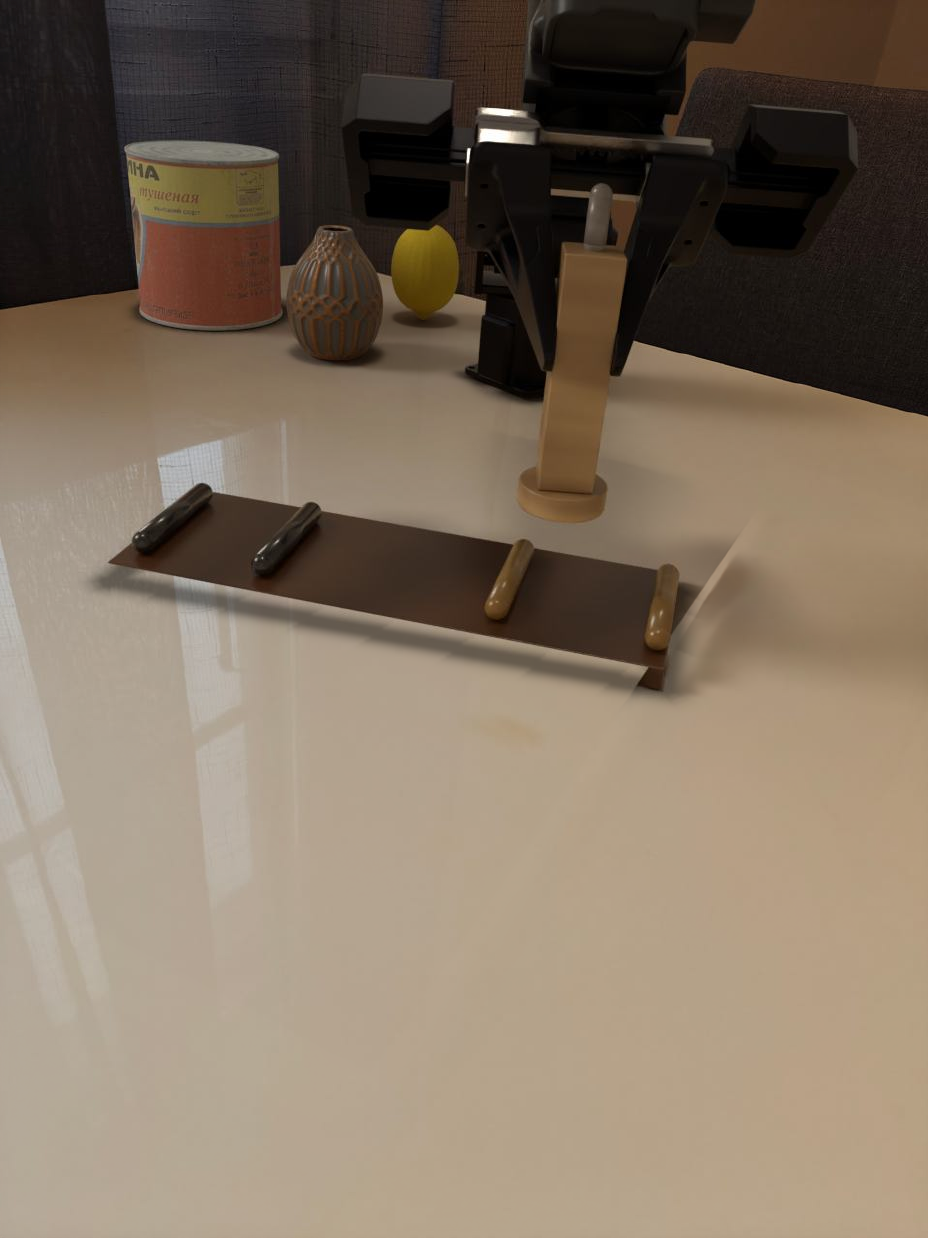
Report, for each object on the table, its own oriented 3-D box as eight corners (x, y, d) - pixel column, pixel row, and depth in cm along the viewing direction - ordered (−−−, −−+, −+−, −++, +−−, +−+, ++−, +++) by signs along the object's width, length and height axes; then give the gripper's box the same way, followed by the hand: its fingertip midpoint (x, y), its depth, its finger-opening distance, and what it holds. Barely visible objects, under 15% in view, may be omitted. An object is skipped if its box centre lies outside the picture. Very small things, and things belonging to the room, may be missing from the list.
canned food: (141, 293, 86) (127, 137, 80) (276, 294, 88) (272, 143, 82) (137, 330, 76) (121, 156, 70) (288, 330, 79) (285, 164, 73)
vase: (395, 348, 77) (400, 227, 73) (358, 372, 71) (360, 242, 67) (313, 334, 79) (312, 214, 74) (270, 357, 73) (266, 229, 69)
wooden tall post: (515, 483, 43) (548, 171, 37) (600, 489, 43) (647, 179, 37) (517, 520, 40) (553, 186, 34) (608, 527, 40) (661, 195, 34)
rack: (109, 582, 44) (104, 541, 43) (198, 506, 51) (196, 469, 50) (660, 690, 40) (669, 647, 39) (675, 591, 47) (683, 553, 46)
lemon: (448, 331, 82) (454, 227, 78) (382, 323, 83) (384, 220, 79) (461, 315, 87) (468, 216, 83) (399, 307, 88) (402, 209, 83)
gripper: (351, -210, 33) (299, 210, 29) (921, -162, 33) (942, 261, 29) (371, 56, 44) (335, 388, 40) (800, 91, 44) (805, 424, 40)
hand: (582, 368), depth 37 cm, fingers closed on wooden tall post, 2 cm apart
